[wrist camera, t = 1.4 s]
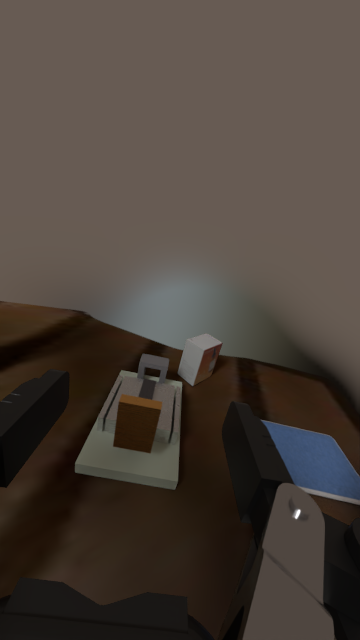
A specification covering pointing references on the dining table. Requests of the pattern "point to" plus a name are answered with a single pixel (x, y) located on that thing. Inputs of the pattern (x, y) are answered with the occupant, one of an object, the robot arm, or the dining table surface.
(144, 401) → the brown l-shaped piece
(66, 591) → the robot arm
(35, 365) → the dining table surface
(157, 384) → the grey slotted block
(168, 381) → the socket board
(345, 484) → the tablet computer
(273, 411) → the dining table surface
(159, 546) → the dining table surface
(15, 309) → the dining table surface
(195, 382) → the small box
